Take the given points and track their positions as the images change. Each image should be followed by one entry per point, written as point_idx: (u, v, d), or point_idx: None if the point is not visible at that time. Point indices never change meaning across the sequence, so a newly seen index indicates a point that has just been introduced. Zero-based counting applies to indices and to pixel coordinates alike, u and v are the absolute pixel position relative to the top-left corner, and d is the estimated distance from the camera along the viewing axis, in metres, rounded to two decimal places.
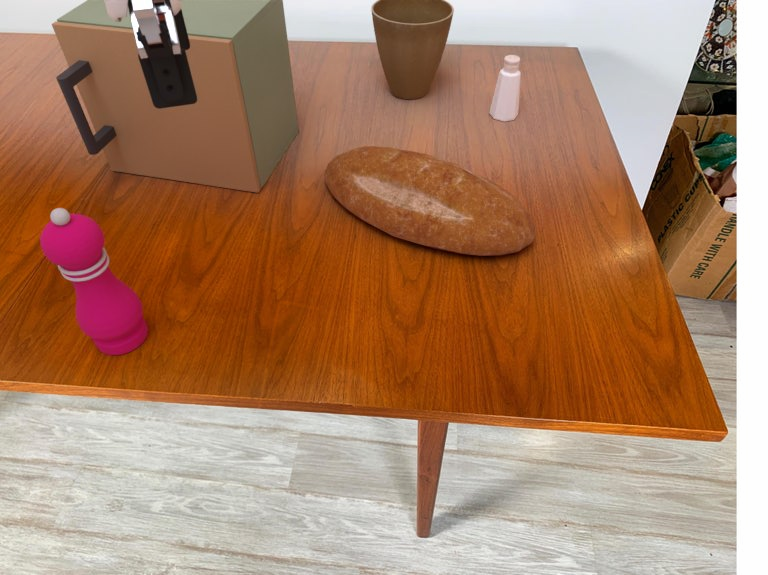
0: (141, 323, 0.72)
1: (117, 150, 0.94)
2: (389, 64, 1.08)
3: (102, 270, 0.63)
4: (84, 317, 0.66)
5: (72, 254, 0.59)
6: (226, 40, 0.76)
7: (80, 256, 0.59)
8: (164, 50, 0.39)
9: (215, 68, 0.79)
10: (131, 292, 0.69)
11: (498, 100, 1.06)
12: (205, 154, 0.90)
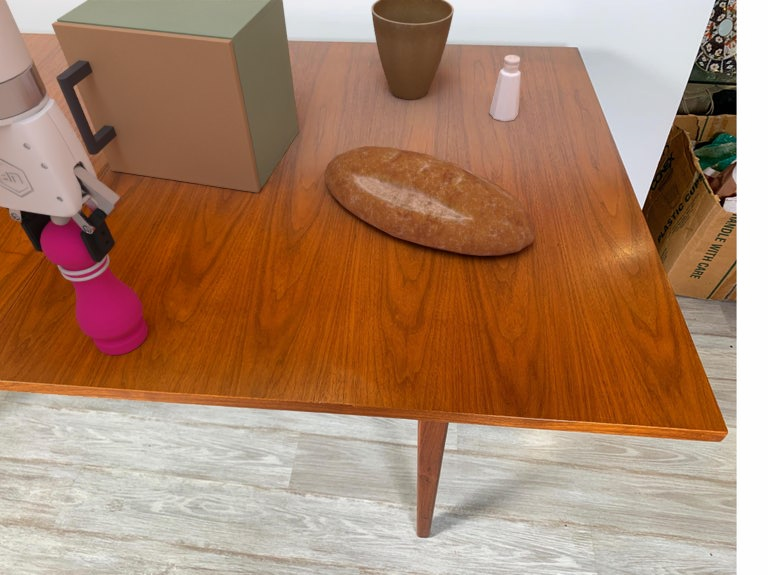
0: (141, 322, 0.72)
1: (117, 150, 0.94)
2: (389, 64, 1.08)
3: (102, 270, 0.63)
4: (84, 317, 0.66)
5: (72, 254, 0.59)
6: (226, 40, 0.76)
7: (80, 256, 0.59)
8: (105, 218, 0.58)
9: (215, 68, 0.79)
10: (131, 292, 0.69)
11: (498, 100, 1.06)
12: (205, 154, 0.90)
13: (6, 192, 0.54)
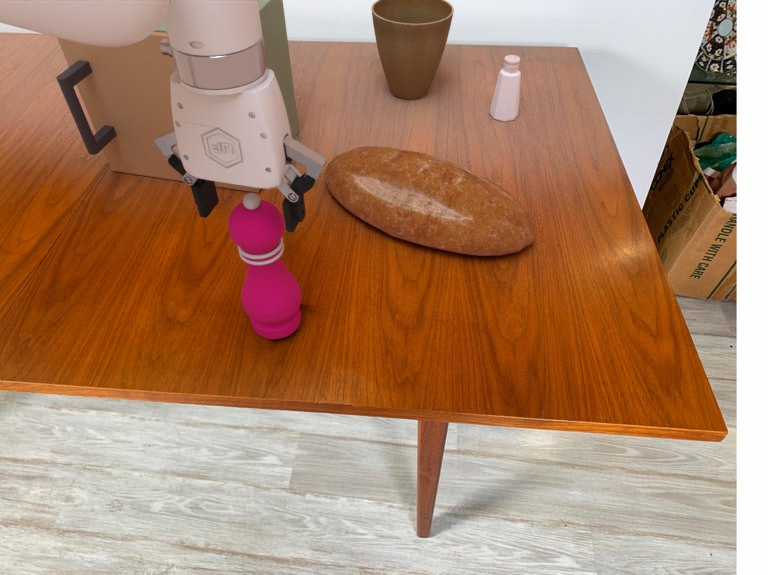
0: None
1: (117, 150, 0.94)
2: (389, 64, 1.08)
3: (280, 254, 0.65)
4: (255, 301, 0.67)
5: (263, 237, 0.61)
6: None
7: (269, 239, 0.61)
8: None
9: None
10: (293, 277, 0.70)
11: (498, 100, 1.06)
12: None
13: (211, 163, 0.54)
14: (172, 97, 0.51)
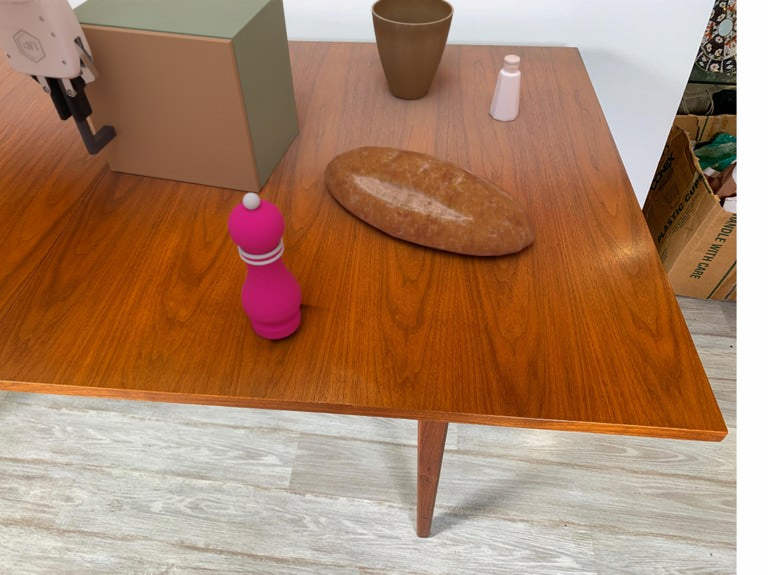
0: None
1: (117, 150, 0.94)
2: (389, 64, 1.08)
3: (280, 254, 0.65)
4: (255, 301, 0.67)
5: (263, 237, 0.61)
6: (226, 40, 0.76)
7: (269, 239, 0.61)
8: (84, 86, 0.80)
9: (215, 68, 0.79)
10: (293, 277, 0.70)
11: (498, 100, 1.06)
12: (205, 154, 0.90)
13: (26, 59, 0.75)
14: None
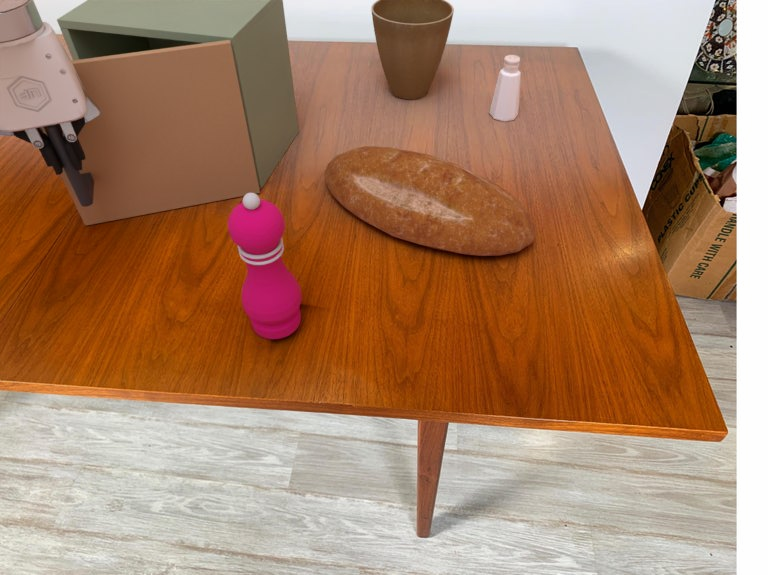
0: None
1: (94, 199, 0.85)
2: (389, 64, 1.08)
3: (280, 254, 0.65)
4: (255, 301, 0.67)
5: (263, 237, 0.61)
6: (225, 41, 0.76)
7: (269, 239, 0.61)
8: None
9: (215, 73, 0.77)
10: (293, 277, 0.70)
11: (498, 100, 1.06)
12: (202, 170, 0.87)
13: (23, 111, 0.66)
14: None
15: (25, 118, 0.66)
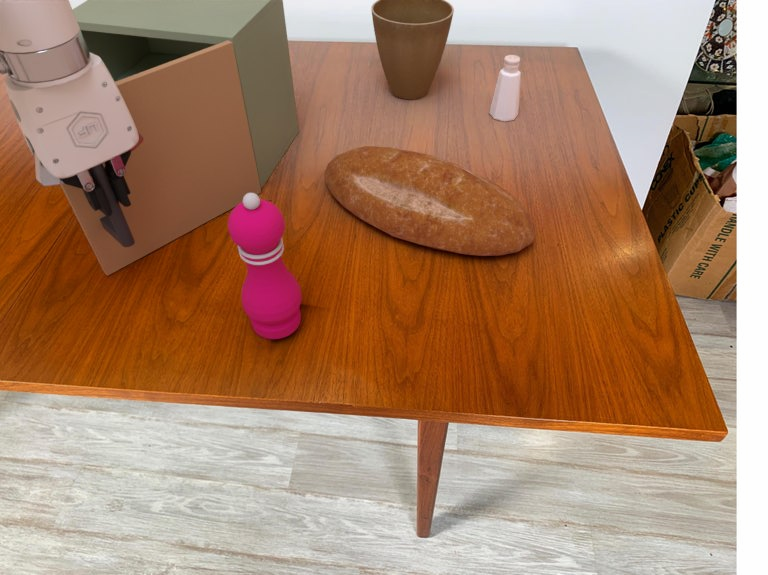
0: None
1: (115, 242, 0.78)
2: (389, 64, 1.08)
3: (280, 254, 0.65)
4: (255, 301, 0.67)
5: (263, 237, 0.61)
6: (225, 42, 0.75)
7: (269, 239, 0.61)
8: None
9: (220, 77, 0.77)
10: (293, 277, 0.70)
11: (498, 100, 1.06)
12: (212, 182, 0.85)
13: (81, 151, 0.60)
14: (28, 106, 0.55)
15: (84, 158, 0.61)
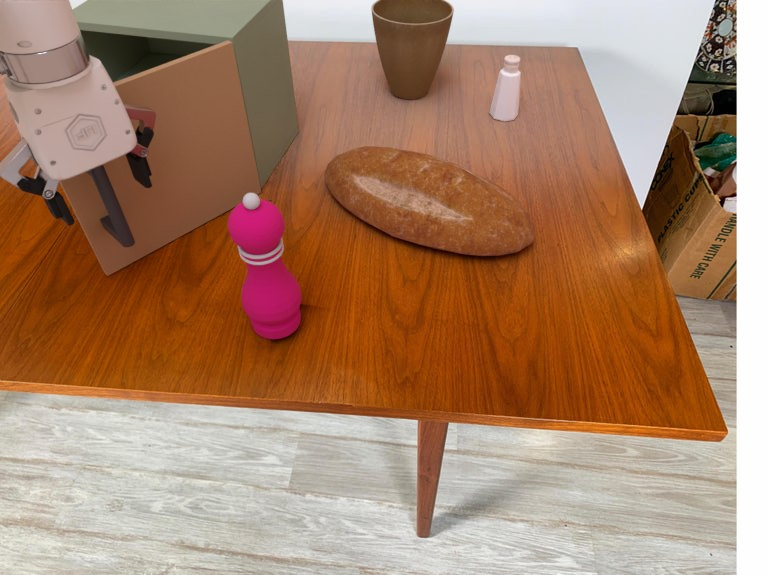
0: None
1: (115, 242, 0.78)
2: (389, 64, 1.08)
3: (280, 254, 0.65)
4: (255, 301, 0.67)
5: (263, 237, 0.61)
6: (225, 42, 0.75)
7: (269, 239, 0.61)
8: None
9: (220, 77, 0.77)
10: (293, 277, 0.70)
11: (498, 100, 1.06)
12: (212, 182, 0.85)
13: (79, 154, 0.60)
14: (27, 107, 0.55)
15: (81, 161, 0.60)
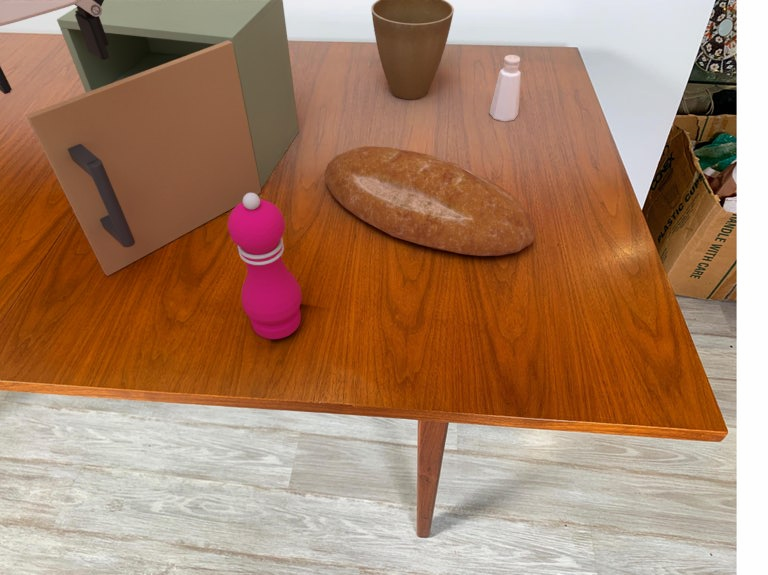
0: None
1: (115, 242, 0.78)
2: (389, 64, 1.08)
3: (280, 254, 0.65)
4: (255, 301, 0.67)
5: (263, 237, 0.61)
6: (225, 42, 0.75)
7: (269, 239, 0.61)
8: None
9: (220, 77, 0.77)
10: (293, 277, 0.70)
11: (498, 100, 1.06)
12: (212, 182, 0.85)
13: None
14: None
15: (13, 3, 0.49)
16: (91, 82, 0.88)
